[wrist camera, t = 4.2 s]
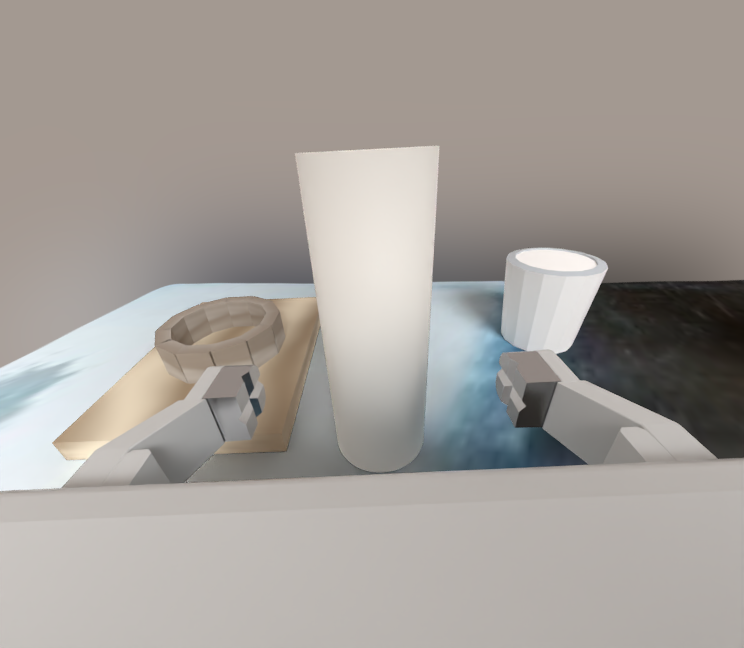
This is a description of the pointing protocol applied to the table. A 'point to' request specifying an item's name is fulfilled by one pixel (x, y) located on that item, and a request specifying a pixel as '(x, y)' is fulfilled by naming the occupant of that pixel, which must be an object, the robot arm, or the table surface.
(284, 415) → the roll holder
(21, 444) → the table surface
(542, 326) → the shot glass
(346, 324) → the paper roll
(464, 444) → the table surface
